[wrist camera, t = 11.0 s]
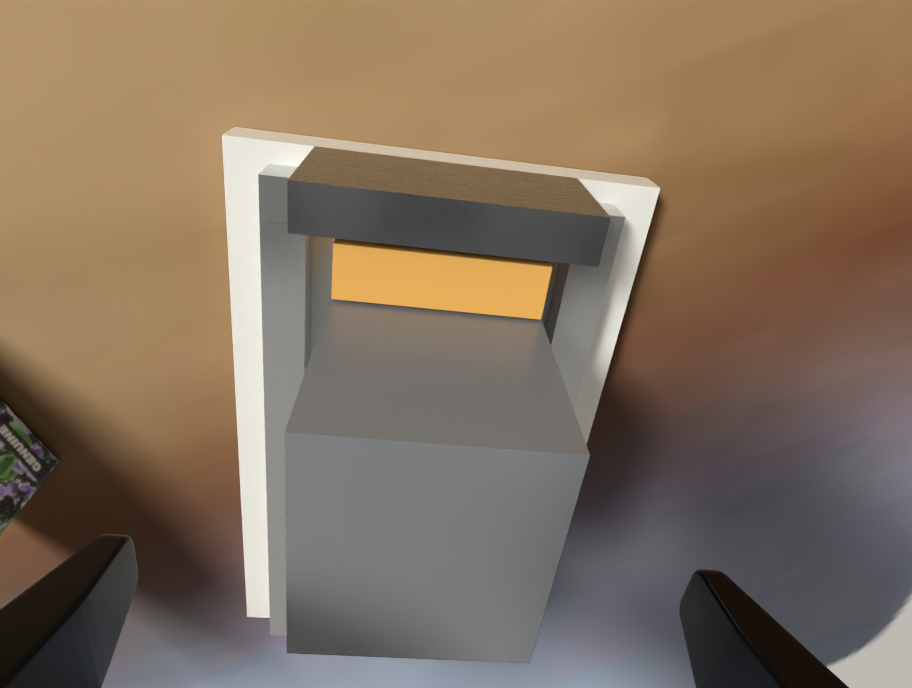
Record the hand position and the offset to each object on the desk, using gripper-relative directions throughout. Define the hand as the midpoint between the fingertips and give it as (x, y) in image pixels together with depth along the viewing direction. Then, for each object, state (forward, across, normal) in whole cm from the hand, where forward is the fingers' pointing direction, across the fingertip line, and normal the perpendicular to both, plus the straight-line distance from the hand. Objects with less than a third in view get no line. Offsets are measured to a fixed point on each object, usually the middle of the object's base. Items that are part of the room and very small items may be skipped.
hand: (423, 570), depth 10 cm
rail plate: (+8, 0, +3) cm, 9 cm away
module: (+7, 0, 0) cm, 7 cm away
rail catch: (+7, 0, -3) cm, 8 cm away
